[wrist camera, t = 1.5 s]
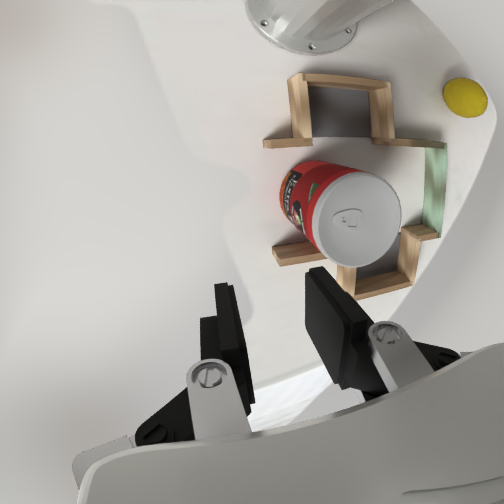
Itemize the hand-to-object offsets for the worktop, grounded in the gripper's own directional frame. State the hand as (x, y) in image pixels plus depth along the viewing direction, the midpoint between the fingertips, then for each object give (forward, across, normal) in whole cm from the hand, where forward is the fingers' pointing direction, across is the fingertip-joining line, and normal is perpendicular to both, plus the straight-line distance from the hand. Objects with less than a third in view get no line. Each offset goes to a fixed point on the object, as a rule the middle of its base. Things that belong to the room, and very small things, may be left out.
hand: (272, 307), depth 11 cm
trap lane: (+19, -15, 0) cm, 24 cm away
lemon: (+19, -31, -13) cm, 39 cm away
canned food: (+19, -9, 0) cm, 21 cm away
